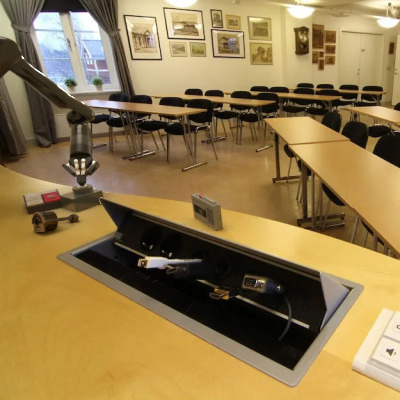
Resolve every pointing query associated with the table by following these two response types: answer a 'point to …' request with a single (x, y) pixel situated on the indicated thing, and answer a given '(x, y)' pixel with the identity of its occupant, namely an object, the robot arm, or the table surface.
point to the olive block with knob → (81, 198)
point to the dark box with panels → (42, 201)
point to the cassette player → (207, 211)
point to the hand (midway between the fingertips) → (81, 184)
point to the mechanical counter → (49, 220)
